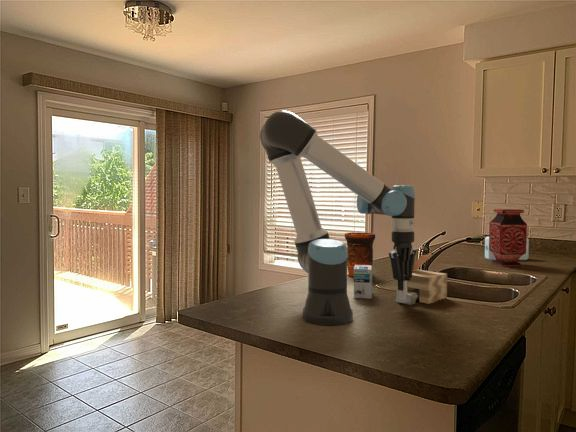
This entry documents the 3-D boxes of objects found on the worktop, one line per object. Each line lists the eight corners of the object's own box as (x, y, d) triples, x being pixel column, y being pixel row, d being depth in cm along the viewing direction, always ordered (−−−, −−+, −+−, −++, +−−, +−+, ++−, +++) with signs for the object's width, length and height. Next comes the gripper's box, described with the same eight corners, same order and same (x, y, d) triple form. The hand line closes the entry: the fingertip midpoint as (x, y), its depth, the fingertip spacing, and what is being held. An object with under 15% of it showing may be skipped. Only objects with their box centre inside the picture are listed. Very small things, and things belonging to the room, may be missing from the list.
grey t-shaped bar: (410, 304, 145) (410, 295, 145) (396, 301, 150) (396, 292, 150) (437, 297, 156) (437, 288, 156) (423, 294, 161) (423, 285, 160)
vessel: (337, 274, 201) (338, 232, 201) (356, 272, 211) (357, 231, 210) (361, 279, 191) (362, 234, 190) (380, 276, 200) (381, 233, 200)
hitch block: (428, 303, 147) (428, 277, 146) (399, 297, 156) (399, 273, 155) (446, 298, 154) (447, 273, 154) (417, 292, 164) (418, 269, 163)
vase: (499, 267, 223) (500, 209, 222) (488, 263, 237) (489, 208, 236) (526, 267, 223) (527, 209, 222) (513, 263, 237) (514, 208, 235)
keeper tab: (407, 271, 158) (406, 269, 159) (417, 269, 162) (416, 268, 163) (422, 256, 153) (421, 255, 154) (432, 255, 157) (431, 253, 158)
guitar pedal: (522, 258, 255) (523, 236, 254) (528, 259, 249) (528, 237, 248) (483, 258, 255) (484, 236, 254) (488, 260, 249) (489, 237, 248)
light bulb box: (372, 299, 154) (372, 269, 153) (353, 298, 155) (353, 268, 155) (372, 292, 164) (372, 264, 164) (354, 291, 166) (354, 264, 165)
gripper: (400, 232, 139) (400, 304, 140) (423, 230, 147) (423, 298, 148) (382, 231, 144) (381, 300, 145) (404, 229, 153) (404, 294, 154)
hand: (402, 299), depth 147 cm, fingers closed
